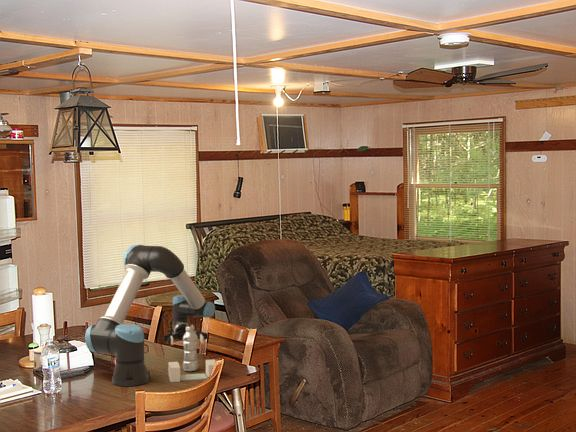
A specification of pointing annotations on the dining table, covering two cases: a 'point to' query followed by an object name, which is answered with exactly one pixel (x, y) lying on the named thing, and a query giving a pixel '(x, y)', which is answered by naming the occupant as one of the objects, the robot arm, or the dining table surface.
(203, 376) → the gap mat
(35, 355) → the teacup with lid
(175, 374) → the gap blocks
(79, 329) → the dining table surface
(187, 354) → the plastic bottle
